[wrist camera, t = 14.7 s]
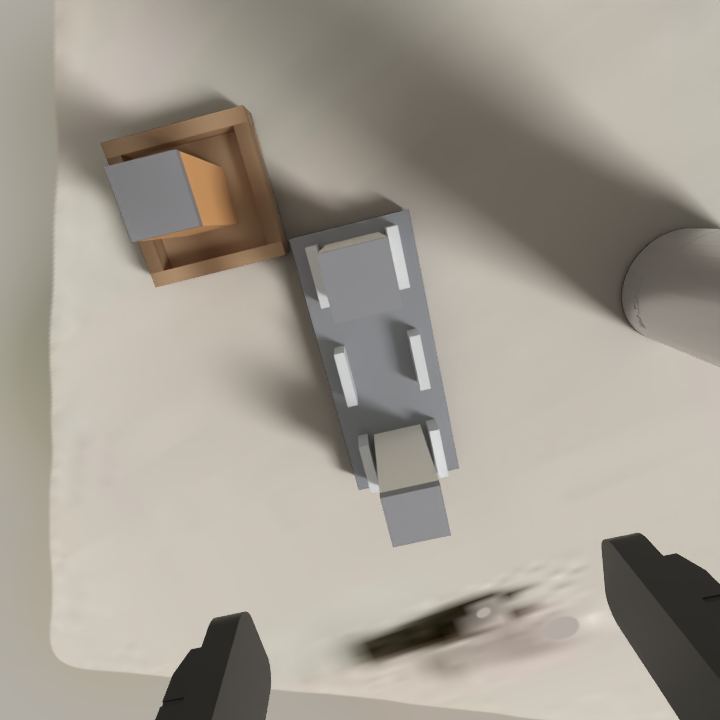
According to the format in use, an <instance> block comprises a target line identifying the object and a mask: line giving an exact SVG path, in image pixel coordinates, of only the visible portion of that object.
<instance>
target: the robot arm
mask: <svg viewBox="0 0 720 720" xmlns="http://www.w3.org/2000/svg"><path fill="white" fill-rule="evenodd" d="M622 303H623V309H624V313H625V315H626V317H627V319H628V321H629V323H630V324H631V325H632V326H633V328H634V329H635V330H637V331H638V332H639V333H641V334H642V335H644V336H646V337H648V338H651V339H653V340H655V341H658V342H660V343H663V344H665V345H667V346H670V347H672V348H675V349H677V350H679V351H681V352H684V353H686V354H689V355H691V356H694V357H696V358H699V359H701V360H704V361H706V362H708V363H711V364H713V365H716V366H718V367H720V229H706V228H684V229H680V230H675V231H671V232H669V233H667V234H665V235H662V236H660V237H659V238H657V239H656V240H654V241H653V242H651V243H650V244H648V245H647V246H646V247H645V248H644V249H643V250H642V251H641V252H640V253H639V254H638V256H637V257H636V259H635V260H634V261H633V263H632V264H631V266H630V268H629V270H628V272H627V274H626V277H625V281H624V284H623V289H622ZM602 558H603V570H604V582H605V592H606V598H607V601H608V604H609V607H610V610H611V612H612V615H613V617H614V619H615V621H616V622H617V624H618V626H619V627H620V629H621V631H622V632H623V634H624V635H625V637H626V638H627V640H628V641H629V643H630V644H631V646H632V647H633V649H634V650H635V652H636V653H637V655H638V657H639V658H640V660H641V661H642V663H643V664H644V666H645V667H646V669H647V670H648V672H649V673H650V675H651V676H652V678H653V679H654V681H655V683H656V684H657V686H658V687H659V689H660V690H661V692H662V693H663V695H664V696H665V698H666V699H667V701H668V702H669V704H670V705H671V707H672V709H673V710H674V712H675V713H676V715H677V716H678V718H679V719H680V720H720V584H719V583H718V582H717V581H716V580H715V579H714V578H713V577H712V576H711V575H710V574H709V573H708V572H707V571H706V570H704V569H703V568H701V567H699V566H697V565H696V564H694V563H692V562H691V561H689V560H687V559H685V558H684V557H682V556H680V555H678V554H677V553H676V554H671V555H666V556H663V555H662V554H661V553H660V552H659V551H658V550H657V549H656V548H655V547H654V546H653V545H652V543H651V542H650V541H649V540H648V539H647V538H646V537H645V536H644V535H642V534H640V533H634V534H630V535H625V536H620V537H615V538H610V539H605V540H603V541H602ZM270 688H271V672H270V665H269V660H268V657H267V655H266V652H265V650H264V647H263V645H262V642H261V640H260V637H259V635H258V632H257V630H256V628H255V625H254V623H253V620H252V618H251V616H250V614H249V613H248V612H241V613H236V614H232V615H227V616H222V617H217V618H214V619H213V620H212V621H211V623H210V625H209V627H208V630H207V633H206V636H205V638H204V641H203V644H202V647H201V648H196V649H191V650H190V652H189V653H188V654H187V656H186V657H185V658H184V660H183V661H182V663H181V664H180V665H179V667H178V668H177V670H176V671H175V672H174V674H173V676H172V678H171V681H170V684H169V686H168V689H167V691H166V694H165V696H164V699H163V706H162V707H160V709H159V712H158V714H157V717H156V719H155V720H265V719H266V713H267V707H268V701H269V695H270Z"/></svg>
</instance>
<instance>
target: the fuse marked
mask: <svg viewBox="0 0 720 720" xmlns="http://www.w3.org/2000/svg"><path fill="white" fill-rule="evenodd" d="M104 169H105V171H106V174H107V177H108V179H109V182H110V185H111V187H112V190H113V193H114V196H115V198H116V201H117V204H118V206H119V209H120V212H121V215H122V217H123V220H124V223H125V225H126V228H127V231H128V233H129V236H130V239H131V242H138V241H147V240H156V239H165V238H174V237H183V236H190V235H194V234H198V233H202V232H206V231H211V230H215V229H219V228H223V227H228V226H232V225H236V224H239V223H238V220H237V216H236V213H235V209H234V206H233V203H232V199H231V196H230V192H229V189H228V186H227V182H226V179H225V176H224V172H223V169H222V167H220V166H217V165H214V164H212V163H209V162H207V161H204V160H202V159H199V158H196V157H194V156H191V155H189V154H186V153H183V152H181V151H178V150H176V149H174V150H170V151H166V152H162V153H158V154H154V155H150V156H146V157H142V158H138V159H134V160H130V161H126V162H122V163H118V164H114V165H110V166H106V167H104Z"/></svg>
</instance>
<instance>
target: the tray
mask: <svg viewBox="0 0 720 720" xmlns="http://www.w3.org/2000/svg"><path fill="white" fill-rule="evenodd" d="M101 145H102V148H103V150H104V153H105V156H106V158H107V161H108V163H109V166H110V165H114V164H118V163H122V162H126V161H130V160H134V159H138V158H142V157H146V156H150V155H154V154H158V153H162V152H166V151H170V150H174V149H176V150H178V151H181V152H183V153H186V154H189V155H191V156H194V157H196V158H199V159H202V160H204V161H207V162H209V163H212V164H214V165H217V166H220V167H222V169H223V172H224V176H225V179H226V182H227V186H228V189H229V192H230V196H231V199H232V203H233V206H234V209H235V213H236V216H237V220H238V223H239V224H236V225H232V226H228V227H223V228H219V229H215V230H211V231H206V232H202V233H198V234H194V235H190V236H183V237H174V238H165V239H156V240H147V241H138V242H139V245H140V248H141V250H142V253H143V255H144V258H145V261H146V263H147V266H148V269H149V271H150V274H151V276H152V279H153V282H154V284H155V287H159V286H163V285H167V284H171V283H175V282H179V281H183V280H187V279H191V278H195V277H199V276H203V275H207V274H211V273H215V272H219V271H223V270H228V269H232V268H236V267H240V266H244V265H248V264H252V263H256V262H260V261H264V260H268V259H272V258H276V257H280V256H284V255H286V254H288V253H290V252H289V248H288V244H287V241H286V237H285V234H284V230H283V227H282V223H281V219H280V216H279V212H278V209H277V205H276V202H275V198H274V194H273V191H272V187H271V184H270V180H269V177H268V173H267V170H266V166H265V162H264V159H263V155H262V152H261V148H260V145H259V141H258V137H257V134H256V130H255V127H254V123H253V120H252V116H251V113H250V112H249V111H248V110H247V109H246V108H245V107H244V106H243V105H241V106H237V107H233V108H230V109H226V110H222V111H219V112H215V113H211V114H207V115H204V116H200V117H196V118H193V119H189V120H185V121H181V122H178V123H174V124H170V125H166V126H163V127H159V128H155V129H152V130H148V131H144V132H140V133H137V134H133V135H129V136H126V137H122V138H118V139H114V140H111V141H107V142H103V143H101Z"/></svg>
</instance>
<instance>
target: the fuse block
mask: <svg viewBox="0 0 720 720" xmlns="http://www.w3.org/2000/svg"><path fill="white" fill-rule="evenodd" d="M289 241H290V245H291V249H292V252H293V256H294V259H295V263H296V267H297V270H298V274H299V277H300V281H301V285H302V288H303V292H304V295H305V299H306V302H307V306H308V310H309V313H310V317H311V320H312V324H313V328H314V331H315V335H316V338H317V342H318V346H319V349H320V353H321V356H322V360H323V364H324V367H325V371H326V374H327V378H328V381H329V385H330V389H331V392H332V396H333V399H334V403H335V407H336V410H337V414H338V417H339V421H340V425H341V428H342V432H343V435H344V439H345V443H346V446H347V450H348V453H349V457H350V461H351V464H352V468H353V471H354V475H355V478H356V482H357V486H358V489H359V490H362V489H366V488H370V492H371V493H374V492H378V491H380V499H381V503H382V507H383V511H384V515H385V518H386V522H387V526H388V530H389V534H390V537H391V541H392V545H393V547H397V546H402V545H406V544H411V543H416V542H421V541H426V540H430V539H435V538H440V537H445V536H450V535H451V533H450V529H449V524H448V519H447V514H446V510H445V505H444V500H443V496H442V491H441V486H440V483H439V480H438V477H437V474H436V473H438V476H439V478H443V477H448V476H449V475H448V471H449V470H454V469H459V465H458V460H457V455H456V450H455V445H454V440H453V435H452V429H451V424H450V419H449V414H448V409H447V404H446V398H445V393H444V388H443V383H442V378H441V373H440V367H439V362H438V357H437V352H436V347H435V342H434V337H433V331H432V326H431V321H430V316H429V311H428V306H427V300H426V295H425V290H424V285H423V280H422V275H421V269H420V264H419V259H418V254H417V249H416V244H415V239H414V233H413V228H412V223H411V218H410V213H409V209H408V210H403V211H399V212H395V213H391V214H387V215H383V216H379V217H375V218H371V219H367V220H363V221H359V222H355V223H351V224H347V225H343V226H339V227H335V228H331V229H327V230H323V231H319V232H315V233H311V234H307V235H303V236H299V237H295V238H292V239H289Z"/></svg>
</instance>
